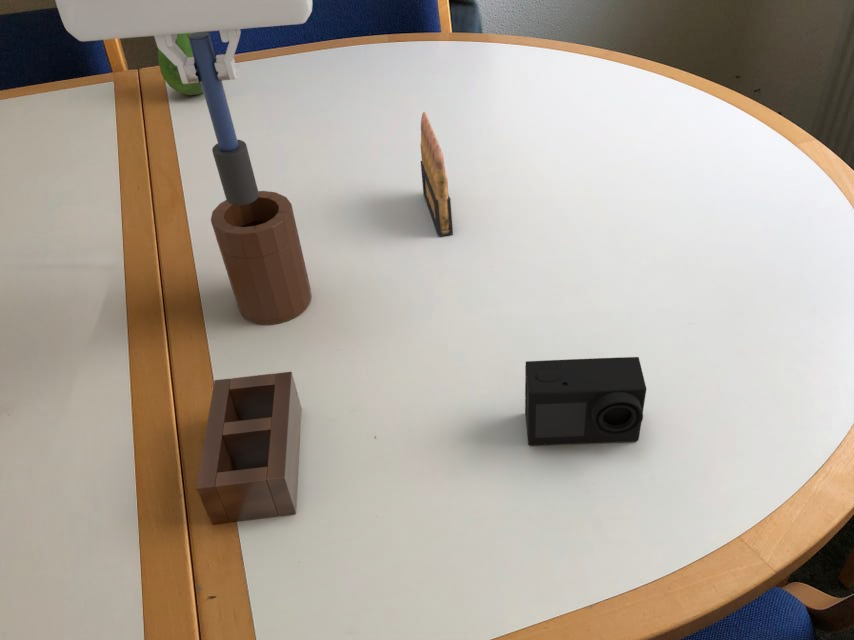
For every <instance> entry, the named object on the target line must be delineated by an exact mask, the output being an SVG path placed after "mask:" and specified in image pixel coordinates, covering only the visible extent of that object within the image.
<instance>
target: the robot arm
mask: <svg viewBox="0 0 854 640" xmlns="http://www.w3.org/2000/svg"><path fill="white" fill-rule="evenodd" d="M54 1H55V4H56V7H57V11H58V13H59V16H60V19H61V22H62V25H63V26H64V28H65V30H66V31H67V33H69V34H70V35H71V36H72V37H74V38H75V39H76V40H77V41H79V42H94V41H107V40H119V39H132V38H143V37H154V41H155V44H156V46H157V50H158V49H159V50H160V51H161V52H162V53H163V54H164V55H165V56H166V57H167V58H168V59H169V60H170V61H171V62H172V63H173V64H174V65H175V66H177V68H178V71H179V74H180V77H181V81H182V83H183V84H189V83H198V82H200V78H199V74H198V71H197V67H196V64H195V60H194V57H187V56H186V55H185V54H184V53H183V51H182V50H181V49H180V48H179V47H178V46H177V45H176V43H175V41H176V38H177V34H182V33H196V32H207V33H208V32H217V31H218V32H219V36H220V39H221V42H222V43H228V44H227V47H226V50H225V53H224V54H215V57H216V60H215V62H214V64H215V68H216V71H217V72H218V75H217V76H218V79H219V81H222V82H224V81H236V80H237V78H238V68H237V65H236V60H235V54H236V51H237V48H238V44H239V41H240V38H241V34H242V33H241V32H242V31H241V30H243V29H244V30H245V29H254V28H255V29H256V28H267V27H268V28H269V27H280V26H292V25H303V24H304V23H305V24H306V22H307V21H308V19H309V18H310V16H311V13H312V12H313V0H54Z"/></svg>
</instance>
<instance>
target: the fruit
mask: <svg viewBox="0 0 854 640" xmlns="http://www.w3.org/2000/svg"><path fill="white" fill-rule="evenodd" d="M191 34H193V33H182V34H177V38H176V41H175V43H176V45H177V46H178V47H179V48H180V49H181V50H182V51H183V53H184V54H185V55H186V56H187V57H193V53H192V50H191V46H190V43H189V39H188V37H189V35H191ZM157 57H158V59H157V61H158V66H159V70H160V74H161V75H162V77H163V79H164V81H165V82H166V83H167V85H168V86H169V87H170V88H172V89H173V90H174V91H176V92H178V93H180V94H182V95H185V96H186V95H187V96H195V95H200V94H201V95H202V94H204V92H203V89H202V85H201V81H200V82H198V83H189V84H183V83H182V81H181V77H180V74H179V71H178V68H177V66H175V65H174V64H173V63H172V62H171V61H170V60H169V59H168V58H167V57H166V56H165V55H164V54H163V53H162V52H161V51H160V50H159V49H158V48H157Z"/></svg>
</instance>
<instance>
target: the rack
mask: <svg viewBox="0 0 854 640" xmlns="http://www.w3.org/2000/svg"><path fill="white" fill-rule="evenodd" d="M213 381H214V382H213V387H212V393H211V398H210V399H211V400H210V405H209V411H208V415H207V423H206V429H205V434H204V439H203V440H204V441H203V447H202V451H201V452H202V453H201V457H200V465H199V470H198V476H197V482H196V487H195V488H196V489H195V490H196V491H197V493H198V496H199V498H200V501H201V503H202V504H203V507H204V510H205V511H206V514H207V516H208V518H209V520H210V523H211V525H218V524H226V523H233V522H241V521H250V520H259V519H265V518H274V517H281V516H282V517H283V516H290V515H296V514H297V503H298V487H299V483H298V482H299V464H300V445H301V444H300V443H301V423H302V405H301V400H300V397H299V394H298V390H297V386H296V383H295V378H294V375H293V372H292V371H283V372H276V373H274V372H273V373H266V374H257V375H249V376H239V377H231V378H223V379H222V378H221V379H215V380H213Z"/></svg>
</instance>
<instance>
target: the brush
mask: <svg viewBox="0 0 854 640" xmlns="http://www.w3.org/2000/svg"><path fill="white" fill-rule="evenodd" d="M188 39H189V43H190V46H191V50H192V53H193V57H194V60H195V64H196V67H197V71H198V74H199V78H200V81H201V85H202V89H203V95H204V99H205V102H206V103H205V104H206V107H207V110H208V113H209V117H210V121H211V123H212V127H213V131H214V135H215V137H216V141H217V143H216V144H215V145H213V147H212V149H211V151H212V155H213V158H214V163H215V165H216V169H217V173H218V176H219V180H220V184H221V187H222V190H223V193H224V196H225V200H227V202H228V203H229V204H232V205H237V206H240V205H246V204H250V203H252V202H254V201H255V200H256V199H257V198H258V196H259V192H258V191H259V189H258V185H257V182H256V181H257V180H256V177H255V173H254V169H253V165H252V162H251V158H250V154H249V150H248V146H247V143H246V142H245V141H244V140H241V139H238V137H237V134H236V133H237V132H236V129H235V126H234V123H233V120H232V115H231V110H230V107H229V103H228V99H227V96H226V92H225V87H224V85H223V81H219V79H218V76H217V75H218V72H217V71H216V68H215V64H214V62H215V60H216V54H215V50H214V46H213V42H212V39H211V35H210V33H209V32H208V31H207V32H195V33H193V34H191V35H189V37H188Z"/></svg>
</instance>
